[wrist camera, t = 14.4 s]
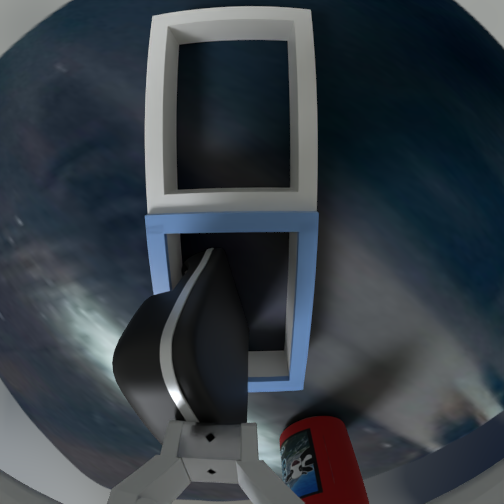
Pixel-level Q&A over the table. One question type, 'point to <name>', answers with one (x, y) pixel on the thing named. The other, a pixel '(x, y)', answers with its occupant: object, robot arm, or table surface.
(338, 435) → the beverage can
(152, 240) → the tray
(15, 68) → the table surface
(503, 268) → the table surface
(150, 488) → the robot arm
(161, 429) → the battery charger
